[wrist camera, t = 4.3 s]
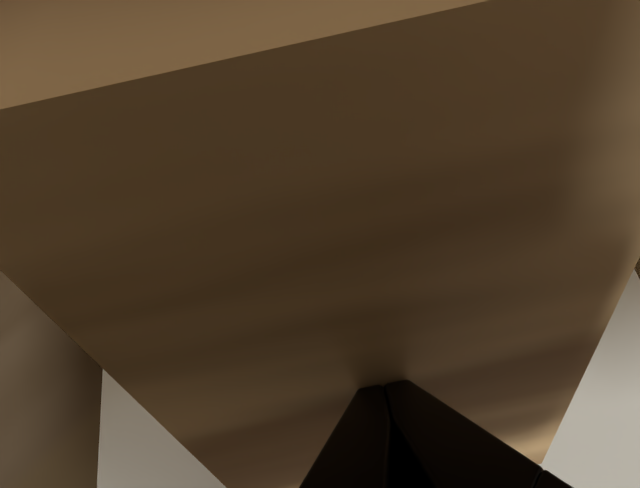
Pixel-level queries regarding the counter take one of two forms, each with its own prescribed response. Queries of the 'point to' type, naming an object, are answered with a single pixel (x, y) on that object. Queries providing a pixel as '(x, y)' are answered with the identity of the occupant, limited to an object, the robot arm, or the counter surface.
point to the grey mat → (561, 460)
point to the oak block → (323, 206)
